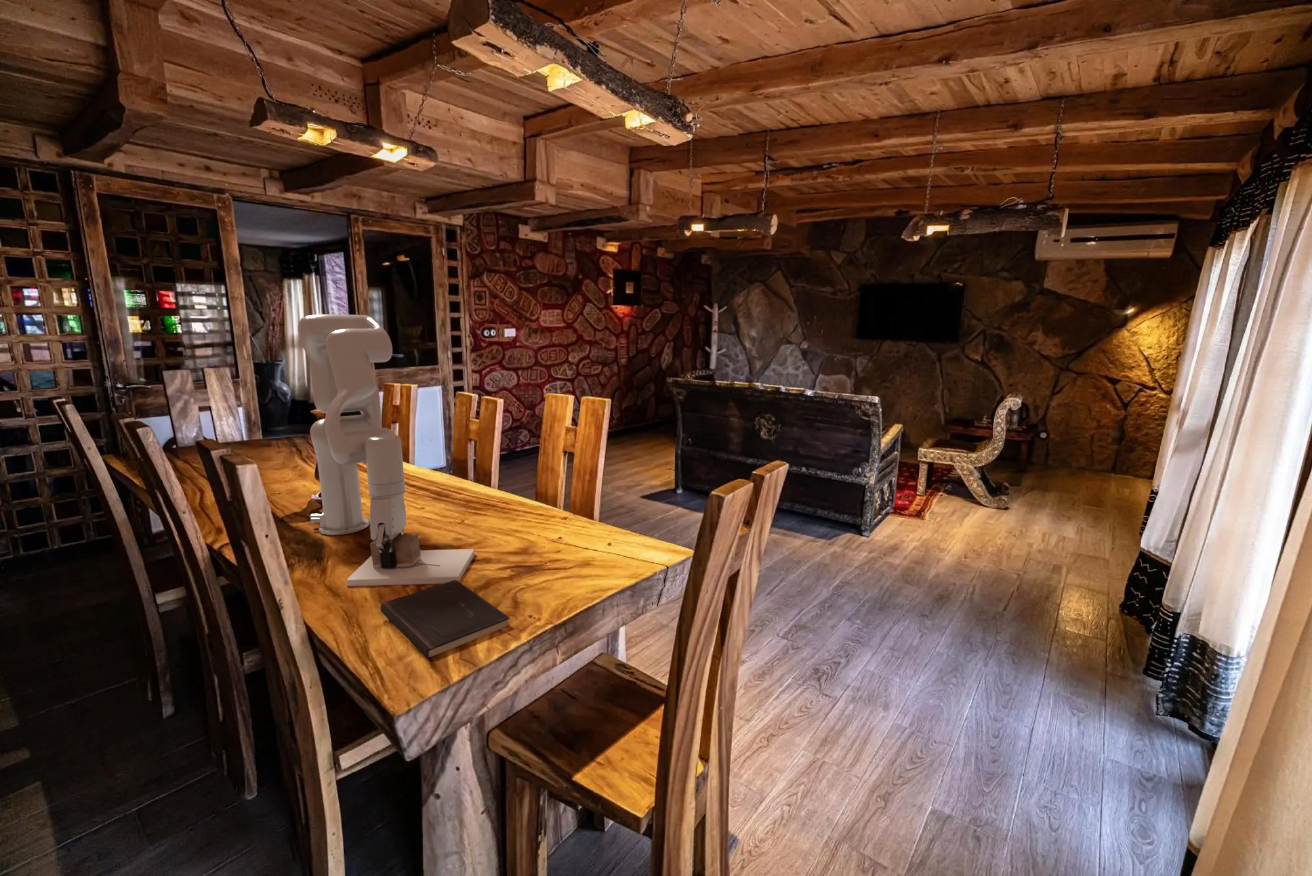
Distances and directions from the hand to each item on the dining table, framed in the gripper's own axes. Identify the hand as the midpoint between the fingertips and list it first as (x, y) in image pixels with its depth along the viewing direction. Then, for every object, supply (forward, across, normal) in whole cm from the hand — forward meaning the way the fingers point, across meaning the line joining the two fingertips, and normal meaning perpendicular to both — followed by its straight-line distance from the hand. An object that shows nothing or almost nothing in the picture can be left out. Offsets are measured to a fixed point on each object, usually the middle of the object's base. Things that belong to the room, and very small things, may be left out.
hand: (393, 561), depth 134 cm
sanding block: (0, 0, +1) cm, 1 cm away
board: (+2, 0, +5) cm, 5 cm away
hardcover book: (+3, +24, +18) cm, 30 cm away
